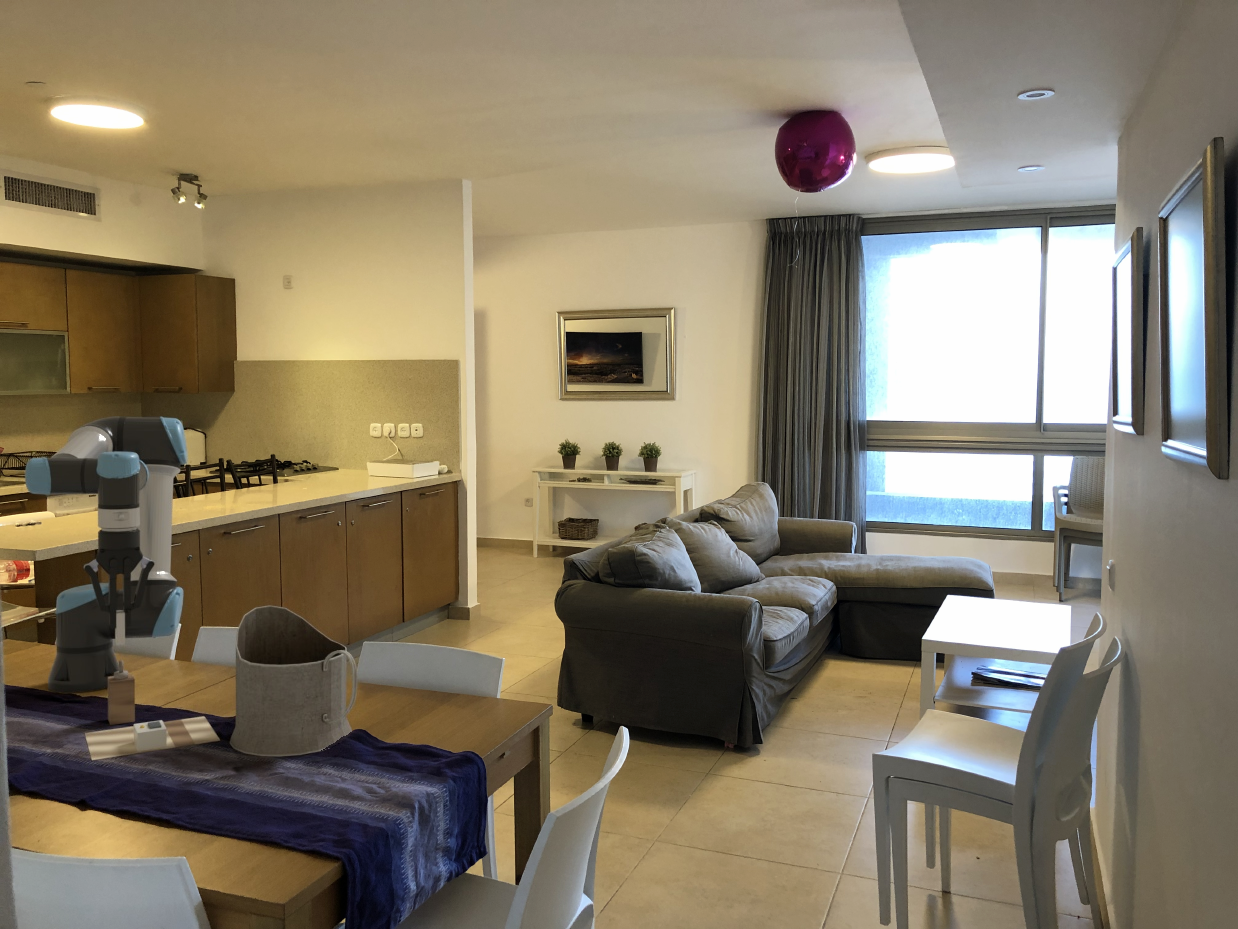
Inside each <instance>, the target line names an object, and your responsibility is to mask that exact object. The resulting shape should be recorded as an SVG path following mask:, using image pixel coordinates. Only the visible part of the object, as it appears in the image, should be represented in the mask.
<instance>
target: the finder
mask: <svg viewBox="0 0 1238 929" xmlns="http://www.w3.org/2000/svg"><path fill="white" fill-rule="evenodd" d="M163 722H164V721H163V720H162V719H160V720H154V721H147V722H140V723H134V724H133V726H134V744H135V747H136V749H137V751H144V750H150V749H157V748H163V747H167V729H166V727H165V725H164V723H163Z"/></svg>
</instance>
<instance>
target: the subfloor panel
mask: <svg viewBox="0 0 1238 929" xmlns="http://www.w3.org/2000/svg"><path fill="white" fill-rule="evenodd" d="M163 723H164V725H165V727H166V729H167V747H163V748H157V749H150V750H144V751H137V749H136V747H135V744H134V725H133V726H126V727H120V728H119V727H118V728H113V729H105V730H99V731H91V732H85V733H84V735H85V739H86V740H85V741H86V744H87V747H88V751H89V755H90V758H91V761H96V760H103V759H110V758H115V757H121V756H123V757H124V756H127V755H128V756H129V755H135V754H142V753H148V752H155V751H160V750H167V749H173V748H181V747H187V746H193V745H199V744H200V745H201V744H206V743H212V742H213V743H214V742H218V741H219V742H220V741H221V739H220V737H219V736H218V735H217V733H216V731H215V730H214V728H213V727H212V726H211V724H210V722H209V721H208V719H207V718H206V717H205V716H197V717H196V716H195V717H191V718H182V719H176V720H168V721H163Z"/></svg>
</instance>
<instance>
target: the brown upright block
mask: <svg viewBox="0 0 1238 929" xmlns="http://www.w3.org/2000/svg"><path fill="white" fill-rule="evenodd" d="M118 664H119V671H117V672H114V676H111V677H108V688H107V720H108V722H109V725H110V726H113V725H120V724H127V723H128V724H129V723H135V721H136V714H135V713H136V712H135V711H136V709H135V708H136V695H135V692H136V691H135V688H136V683H135V677H134V675H133V674H132V673H129V671H128V670H124V660H123V659H122V660H118Z"/></svg>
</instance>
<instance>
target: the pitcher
mask: <svg viewBox="0 0 1238 929" xmlns="http://www.w3.org/2000/svg"><path fill="white" fill-rule="evenodd" d="M235 641H236V642H235V727H234V729H233V731H232V735H231V737H230V739H229V740H230V741H229V745H230V746H231V747H232V748H233V749H234V750H236V751H237V752H241V753H243V754H246V755H247V754H248V755H252V756H259V757H289V756H302V755H306V754H312V753H319V752H322V751H324V750H323V749H325V748H326V747H328V746H329V745H331V744H333V743H335V742H336V741H337V740H339V739H340V738H341V737H343V736H346V735H348V734H349V733H350V732H352V727H351V725H350V722H349V719H348V718H347V715H348V714H349V713H350V711H351V710H352V708H353V707H354V705H355V702H356V699H357V692H358V668H357V664H356V661H355V659H354V657H353V655H352V654H351V653H350V652H348V651H347V647H346V646H345V645H343V644H341V643H339V642H337V641H335V640H332V639H330V638H329V637H328V636H326V635H325V634H324V633H322V632H321V631H319V630H318V629H317V628H315V626H313V625H312V624H311V623H310V622H308V621H307V620H306V619H304V618H303V617H302V616H300V615H299V614H297V613H295V612H293V611H292V610H290V609H288V608H286V607H282V606H275V605H265V606H259V607H254V608H253V609H251V610H250V611H248V612H247V613H245V614H243V616H242V618H241V621H240V623H239V624H238V627H237V629H236V640H235ZM347 660H348V662H349V664H350V669H351V674H352V675H351V676H352V680H351V681H352V682H351V683H352V684H351V696H350V701H349V702H348V705H347V664H348V663H347ZM321 750H322V751H321ZM325 750H326V749H325Z"/></svg>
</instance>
